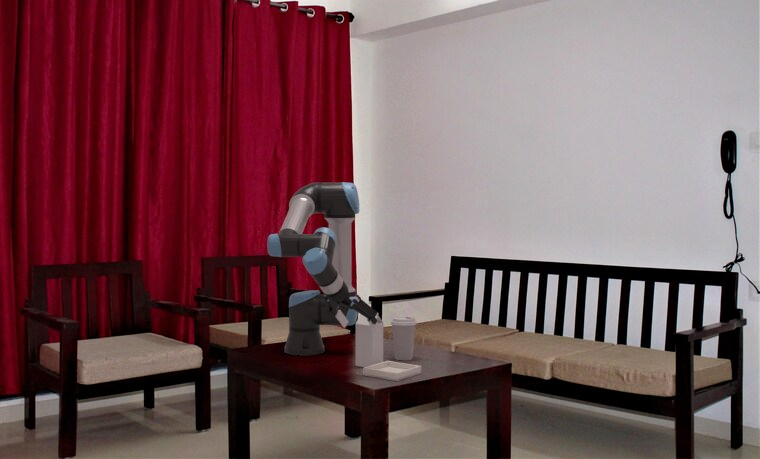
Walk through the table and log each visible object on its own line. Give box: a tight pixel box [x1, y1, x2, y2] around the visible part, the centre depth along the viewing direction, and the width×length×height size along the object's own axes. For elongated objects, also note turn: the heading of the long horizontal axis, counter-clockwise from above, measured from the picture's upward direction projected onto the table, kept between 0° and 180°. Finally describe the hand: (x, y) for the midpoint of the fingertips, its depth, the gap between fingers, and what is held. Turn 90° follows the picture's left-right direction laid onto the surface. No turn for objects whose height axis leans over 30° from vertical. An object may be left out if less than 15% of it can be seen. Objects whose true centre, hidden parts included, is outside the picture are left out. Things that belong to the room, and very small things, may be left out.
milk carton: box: [355, 312, 384, 368], centre depth 260 cm, size 7×7×19 cm
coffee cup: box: [390, 315, 418, 361], centre depth 272 cm, size 10×10×15 cm
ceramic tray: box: [362, 360, 422, 382], centre depth 247 cm, size 14×14×2 cm
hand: (361, 326), depth 255 cm, fingers open, 13 cm apart
